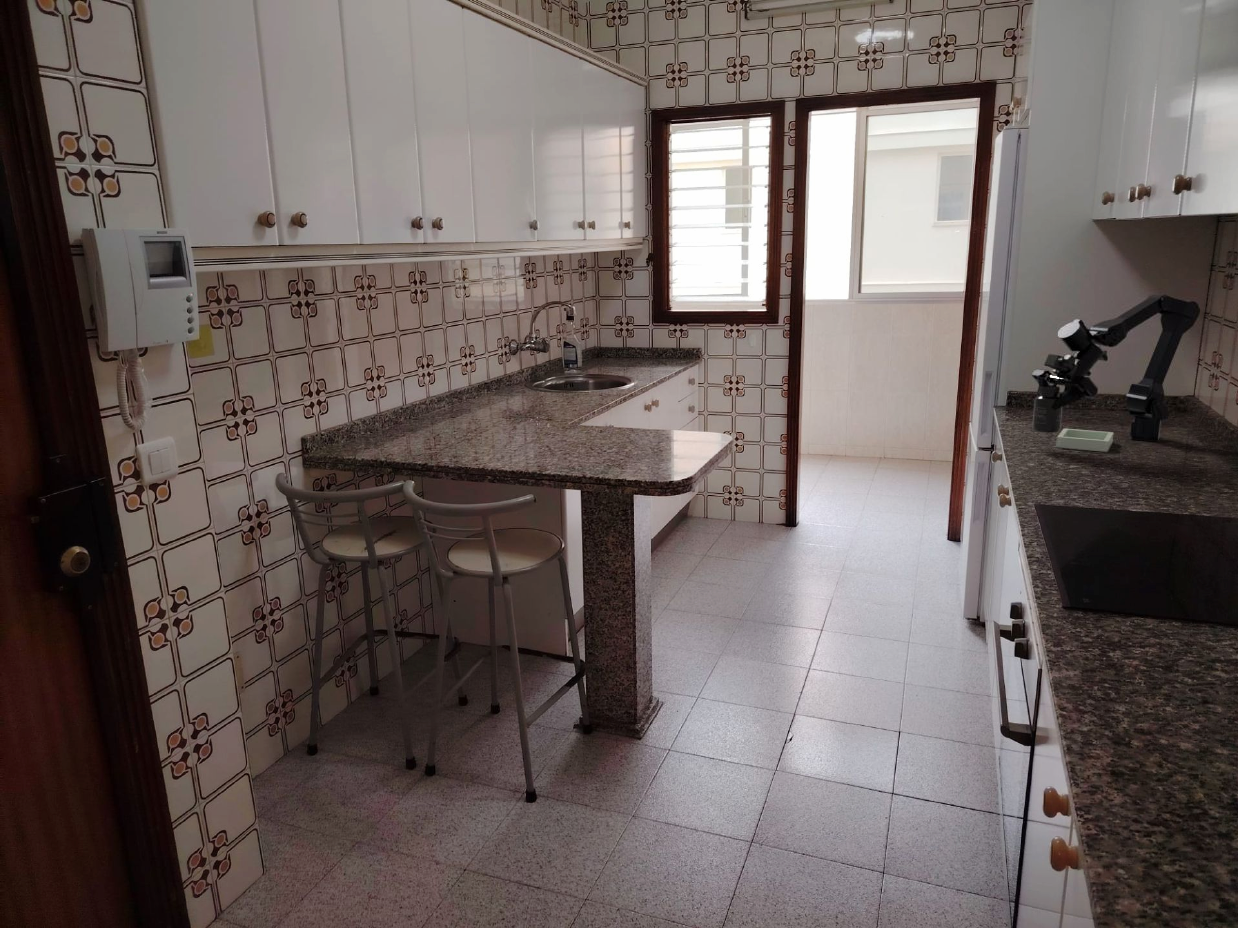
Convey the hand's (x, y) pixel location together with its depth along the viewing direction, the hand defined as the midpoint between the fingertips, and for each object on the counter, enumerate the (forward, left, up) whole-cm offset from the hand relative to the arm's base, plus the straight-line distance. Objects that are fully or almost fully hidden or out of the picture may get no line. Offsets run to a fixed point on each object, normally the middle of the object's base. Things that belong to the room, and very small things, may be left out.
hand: (1043, 406), depth 229 cm
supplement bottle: (-1, -1, -7) cm, 7 cm away
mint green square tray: (-9, -12, -12) cm, 19 cm away
